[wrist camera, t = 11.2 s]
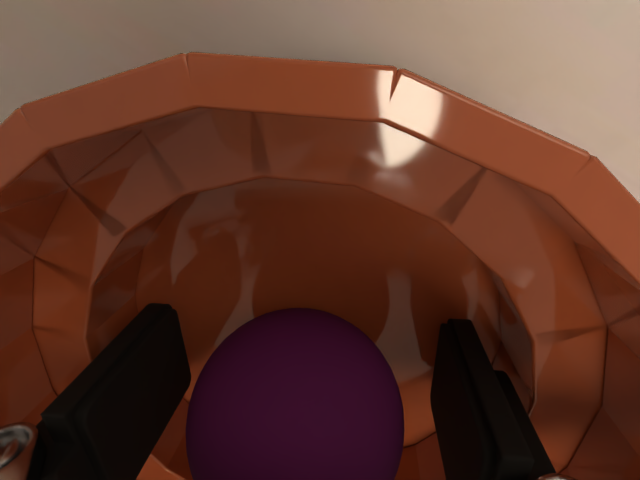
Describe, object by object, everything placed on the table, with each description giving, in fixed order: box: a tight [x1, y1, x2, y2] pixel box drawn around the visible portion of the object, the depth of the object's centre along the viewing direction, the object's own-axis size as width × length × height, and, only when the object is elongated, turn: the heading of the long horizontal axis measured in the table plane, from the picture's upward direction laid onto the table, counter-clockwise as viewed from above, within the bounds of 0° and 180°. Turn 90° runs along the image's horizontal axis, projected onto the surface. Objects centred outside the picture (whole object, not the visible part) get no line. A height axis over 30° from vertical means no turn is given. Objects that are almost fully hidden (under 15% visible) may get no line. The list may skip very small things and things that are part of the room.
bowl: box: [0, 52, 640, 480], centre depth 9 cm, size 15×15×5 cm
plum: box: [186, 308, 405, 480], centre depth 9 cm, size 5×5×5 cm
